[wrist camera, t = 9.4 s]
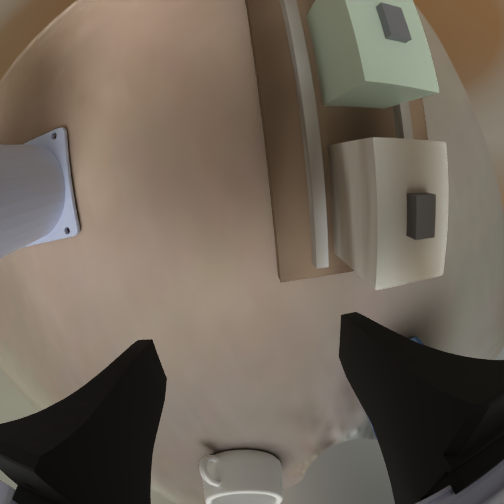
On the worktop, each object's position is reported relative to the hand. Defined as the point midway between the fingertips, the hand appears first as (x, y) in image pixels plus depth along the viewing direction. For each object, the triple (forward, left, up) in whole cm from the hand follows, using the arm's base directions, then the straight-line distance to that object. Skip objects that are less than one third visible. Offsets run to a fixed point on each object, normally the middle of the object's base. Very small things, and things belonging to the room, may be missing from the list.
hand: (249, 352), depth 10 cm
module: (+9, +13, -8) cm, 18 cm away
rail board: (+9, +10, -9) cm, 16 cm away
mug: (-4, -25, -10) cm, 27 cm away
